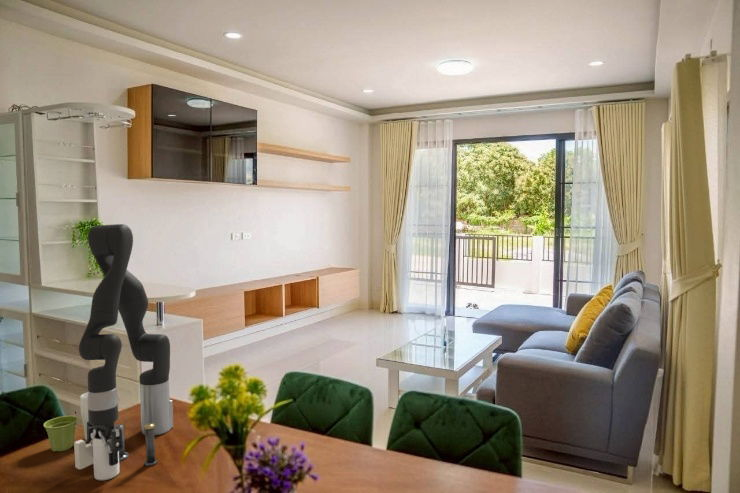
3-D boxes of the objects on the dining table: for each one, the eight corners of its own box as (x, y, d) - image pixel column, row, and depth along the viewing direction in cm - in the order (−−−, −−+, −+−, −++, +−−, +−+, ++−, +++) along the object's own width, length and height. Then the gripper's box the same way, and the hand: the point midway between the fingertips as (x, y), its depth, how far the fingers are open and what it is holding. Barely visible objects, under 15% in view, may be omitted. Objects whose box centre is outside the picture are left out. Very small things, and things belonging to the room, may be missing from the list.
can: (94, 483, 144) (91, 441, 143) (94, 473, 150) (92, 432, 149) (120, 477, 147) (118, 436, 146) (119, 467, 153) (117, 427, 152)
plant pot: (41, 448, 166) (39, 421, 165) (73, 438, 172) (72, 413, 172) (50, 457, 159) (48, 430, 159) (83, 447, 166) (82, 420, 165)
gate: (110, 452, 158) (109, 428, 157) (115, 454, 156) (114, 430, 156) (75, 467, 149) (74, 442, 148) (79, 469, 147) (78, 444, 147)
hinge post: (122, 452, 162) (121, 421, 161) (132, 456, 159) (130, 424, 159) (107, 458, 158) (105, 426, 157) (116, 463, 155) (114, 430, 154)
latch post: (152, 459, 157) (151, 421, 156) (160, 462, 155) (158, 424, 154) (141, 464, 154) (140, 425, 153) (149, 467, 152) (147, 428, 151)
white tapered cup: (95, 443, 168) (93, 398, 167) (77, 442, 170) (74, 397, 168) (110, 435, 175) (107, 391, 174) (92, 433, 176) (90, 390, 175)
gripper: (130, 405, 146) (132, 461, 146) (102, 396, 153) (104, 449, 154) (103, 414, 139) (106, 473, 140) (76, 403, 147) (78, 459, 148)
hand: (105, 460), depth 147 cm, fingers open, 8 cm apart
